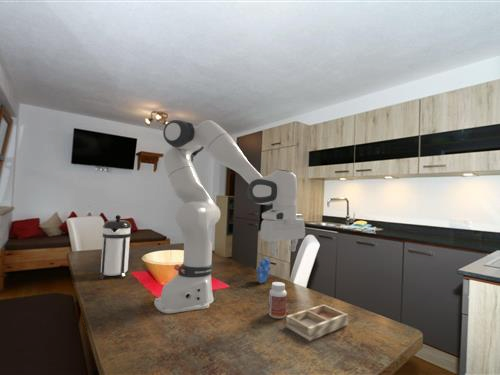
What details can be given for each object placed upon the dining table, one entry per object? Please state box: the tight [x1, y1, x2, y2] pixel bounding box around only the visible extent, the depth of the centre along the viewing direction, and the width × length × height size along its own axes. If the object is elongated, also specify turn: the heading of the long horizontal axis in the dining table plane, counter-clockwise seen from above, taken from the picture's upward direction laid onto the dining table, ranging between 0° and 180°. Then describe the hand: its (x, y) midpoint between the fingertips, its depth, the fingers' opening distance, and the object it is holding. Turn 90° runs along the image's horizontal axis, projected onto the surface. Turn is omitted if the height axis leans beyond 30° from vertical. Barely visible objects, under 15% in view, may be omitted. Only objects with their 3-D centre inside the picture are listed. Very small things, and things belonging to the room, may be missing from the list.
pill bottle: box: [268, 281, 288, 319], centre depth 94 cm, size 6×6×11 cm
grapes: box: [256, 257, 272, 284], centre depth 131 cm, size 12×7×12 cm, turn 148°
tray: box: [285, 304, 349, 342], centre depth 87 cm, size 19×10×4 cm, turn 127°
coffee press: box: [98, 214, 132, 280], centre depth 133 cm, size 17×16×30 cm
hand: (283, 252), depth 95 cm, fingers open, 8 cm apart
